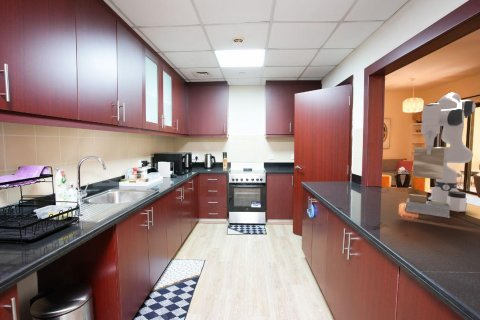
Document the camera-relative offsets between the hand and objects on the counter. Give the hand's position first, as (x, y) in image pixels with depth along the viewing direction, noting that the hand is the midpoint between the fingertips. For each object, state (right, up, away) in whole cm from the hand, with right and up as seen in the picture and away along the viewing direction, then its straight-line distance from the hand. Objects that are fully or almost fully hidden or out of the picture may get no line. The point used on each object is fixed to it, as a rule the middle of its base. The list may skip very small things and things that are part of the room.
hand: (428, 154), depth 144 cm
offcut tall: (-6, -34, +2) cm, 34 cm away
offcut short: (+2, -34, -4) cm, 34 cm away
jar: (+19, -35, +4) cm, 40 cm away
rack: (-1, -35, 0) cm, 35 cm away
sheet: (0, -14, +1) cm, 14 cm away
